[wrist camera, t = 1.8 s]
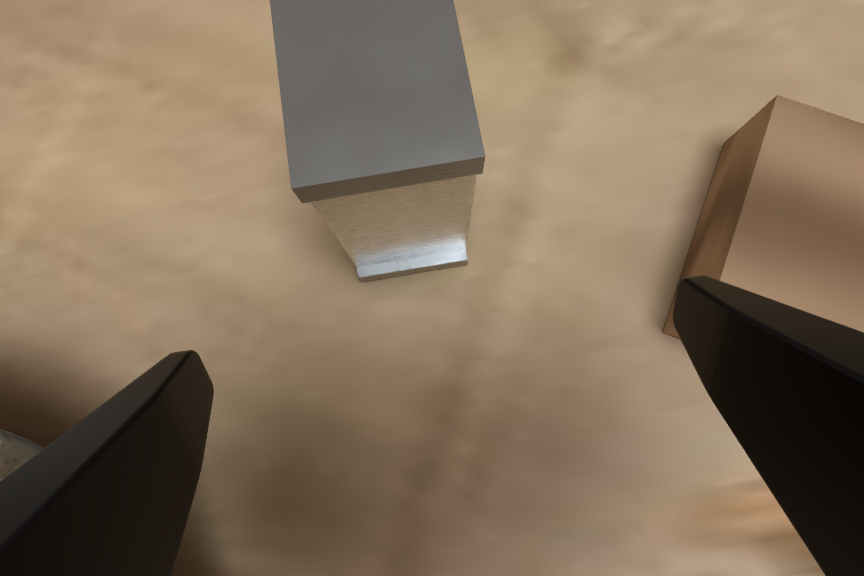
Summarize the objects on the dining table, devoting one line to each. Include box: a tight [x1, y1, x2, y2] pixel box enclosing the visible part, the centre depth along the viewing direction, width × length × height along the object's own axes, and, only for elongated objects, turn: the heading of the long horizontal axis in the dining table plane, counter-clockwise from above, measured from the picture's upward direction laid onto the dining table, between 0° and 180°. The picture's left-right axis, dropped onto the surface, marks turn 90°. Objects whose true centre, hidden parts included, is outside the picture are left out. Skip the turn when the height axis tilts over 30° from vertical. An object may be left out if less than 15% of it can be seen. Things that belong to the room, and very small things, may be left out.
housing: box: [270, 0, 485, 283], centre depth 19 cm, size 6×5×11 cm
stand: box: [663, 95, 864, 339], centre depth 21 cm, size 10×10×4 cm
